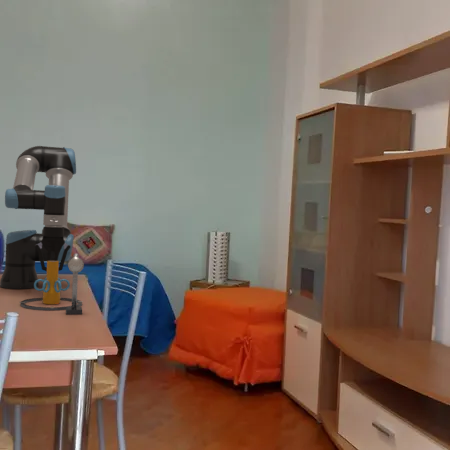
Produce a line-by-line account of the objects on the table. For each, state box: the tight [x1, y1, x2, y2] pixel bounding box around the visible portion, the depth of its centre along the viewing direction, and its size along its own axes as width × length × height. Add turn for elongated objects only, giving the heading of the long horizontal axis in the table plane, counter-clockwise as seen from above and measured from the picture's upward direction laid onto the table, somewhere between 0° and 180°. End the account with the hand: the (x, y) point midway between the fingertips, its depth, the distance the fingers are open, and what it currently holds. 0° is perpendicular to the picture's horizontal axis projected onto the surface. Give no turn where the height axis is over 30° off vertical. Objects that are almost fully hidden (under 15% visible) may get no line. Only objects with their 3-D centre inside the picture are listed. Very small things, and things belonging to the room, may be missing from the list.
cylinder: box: [33, 261, 71, 306], centre depth 201 cm, size 12×10×15 cm
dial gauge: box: [65, 253, 85, 316], centre depth 188 cm, size 8×5×20 cm, turn 18°
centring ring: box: [18, 296, 84, 311], centre depth 199 cm, size 21×21×1 cm
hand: (51, 288), depth 213 cm, fingers closed
